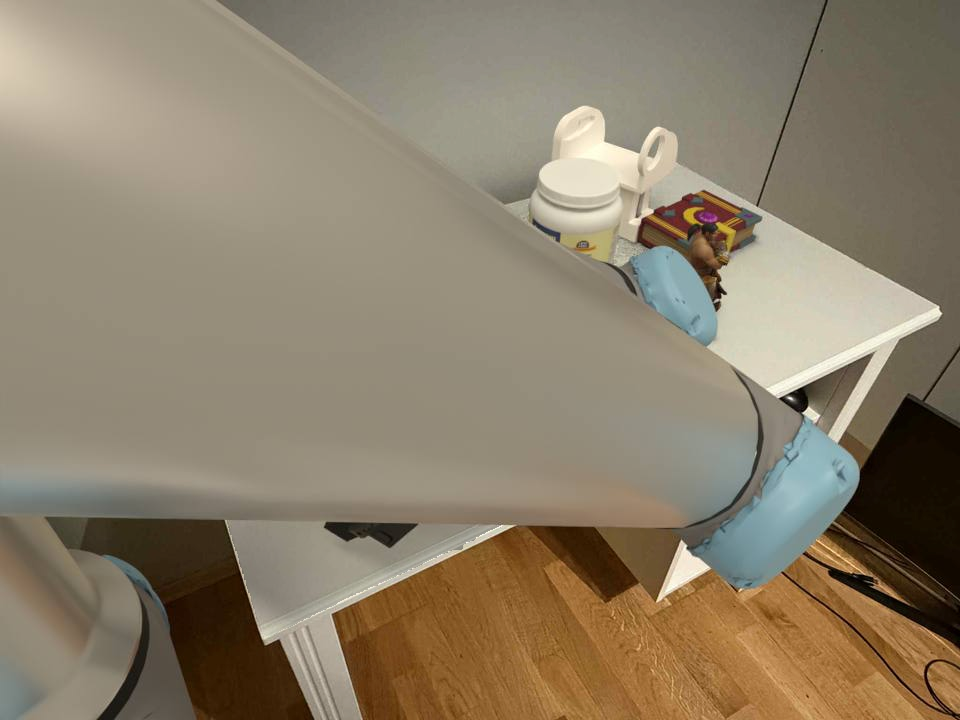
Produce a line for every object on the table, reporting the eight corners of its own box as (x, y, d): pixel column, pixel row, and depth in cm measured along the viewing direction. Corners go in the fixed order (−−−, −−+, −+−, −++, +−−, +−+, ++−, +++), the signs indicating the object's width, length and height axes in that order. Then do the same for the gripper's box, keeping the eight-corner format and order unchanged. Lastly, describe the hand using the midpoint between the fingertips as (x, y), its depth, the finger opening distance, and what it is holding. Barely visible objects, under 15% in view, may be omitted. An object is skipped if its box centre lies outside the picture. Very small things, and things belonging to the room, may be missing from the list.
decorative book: (634, 242, 100) (640, 213, 96) (701, 209, 107) (708, 182, 103) (692, 276, 93) (700, 247, 90) (758, 239, 100) (768, 211, 97)
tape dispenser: (662, 220, 104) (687, 111, 92) (621, 254, 97) (642, 141, 85) (589, 192, 111) (603, 87, 98) (546, 222, 104) (555, 113, 91)
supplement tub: (513, 299, 89) (519, 190, 78) (536, 252, 98) (544, 147, 86) (600, 317, 86) (619, 207, 75) (616, 267, 95) (635, 161, 83)
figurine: (657, 317, 86) (681, 221, 76) (684, 302, 89) (712, 206, 79) (698, 345, 82) (730, 247, 72) (726, 328, 85) (760, 231, 75)
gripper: (536, 544, 43) (349, 610, 55) (561, 317, 60) (414, 407, 72) (457, 488, 40) (277, 571, 52) (507, 266, 57) (363, 368, 69)
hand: (357, 476), depth 62 cm, fingers open, 12 cm apart
